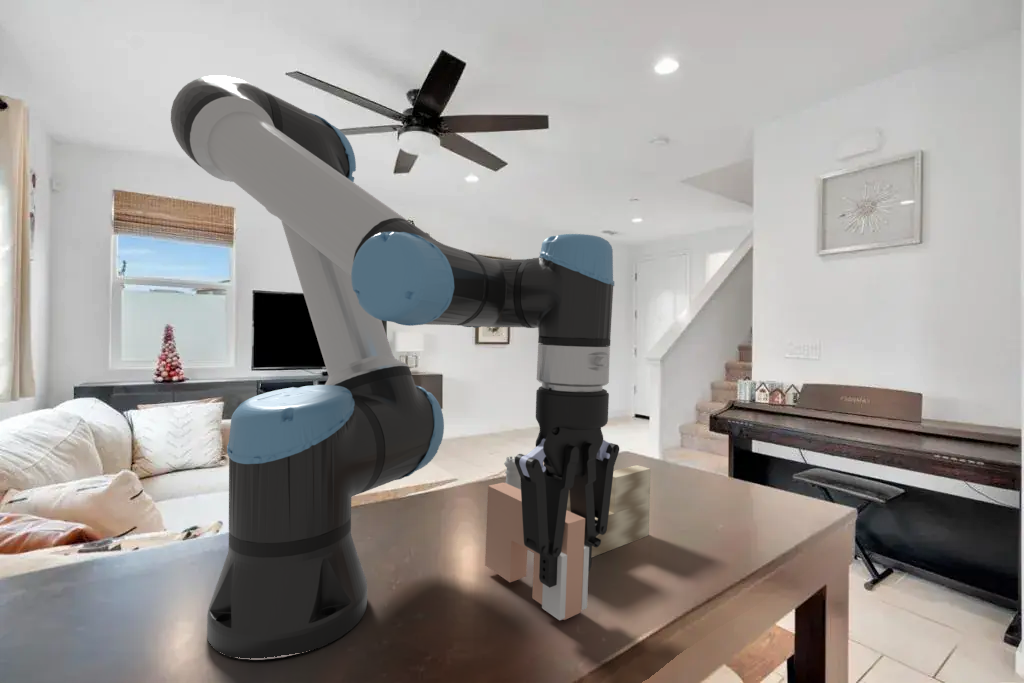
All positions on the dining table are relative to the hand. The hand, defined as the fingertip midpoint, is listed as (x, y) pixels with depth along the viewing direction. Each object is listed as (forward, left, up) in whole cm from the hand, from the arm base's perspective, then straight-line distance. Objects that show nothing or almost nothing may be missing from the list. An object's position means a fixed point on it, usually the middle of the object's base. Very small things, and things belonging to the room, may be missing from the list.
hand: (564, 607), depth 52 cm
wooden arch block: (-3, +5, 0) cm, 6 cm away
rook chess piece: (0, +35, -1) cm, 35 cm away
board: (+9, +16, -1) cm, 18 cm away
